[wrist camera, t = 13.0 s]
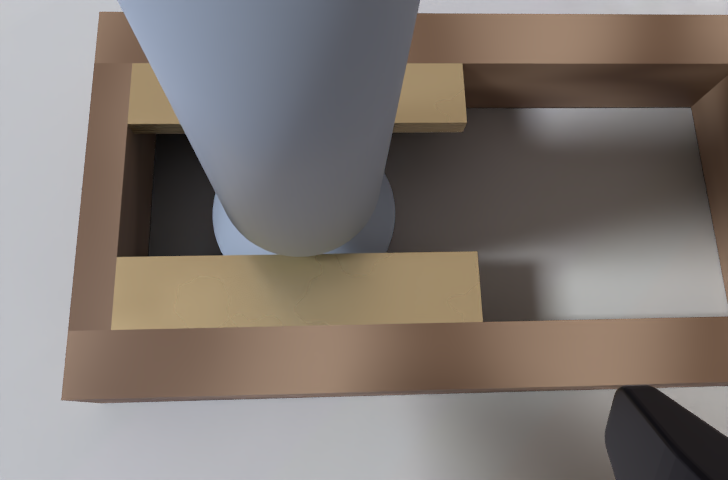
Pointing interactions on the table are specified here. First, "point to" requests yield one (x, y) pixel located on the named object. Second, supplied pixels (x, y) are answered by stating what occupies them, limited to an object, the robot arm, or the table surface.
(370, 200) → the slate peg
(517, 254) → the table surface
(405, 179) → the table surface
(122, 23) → the keyhole block
